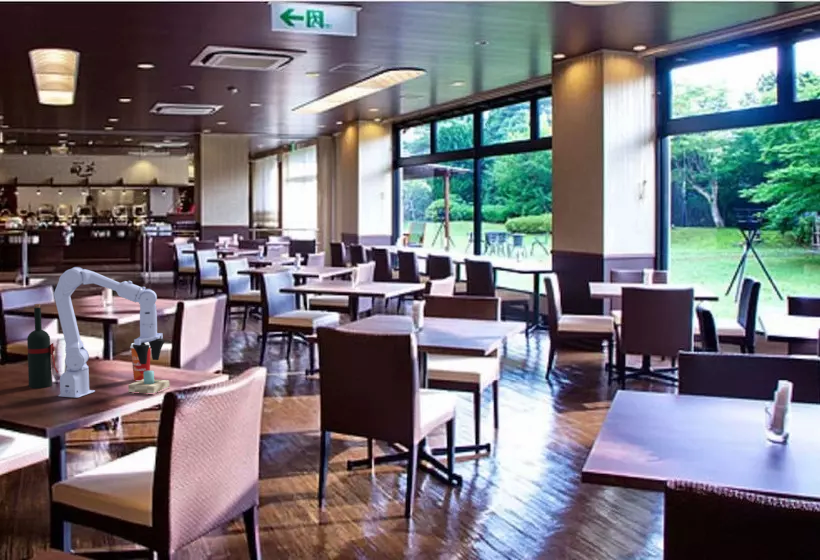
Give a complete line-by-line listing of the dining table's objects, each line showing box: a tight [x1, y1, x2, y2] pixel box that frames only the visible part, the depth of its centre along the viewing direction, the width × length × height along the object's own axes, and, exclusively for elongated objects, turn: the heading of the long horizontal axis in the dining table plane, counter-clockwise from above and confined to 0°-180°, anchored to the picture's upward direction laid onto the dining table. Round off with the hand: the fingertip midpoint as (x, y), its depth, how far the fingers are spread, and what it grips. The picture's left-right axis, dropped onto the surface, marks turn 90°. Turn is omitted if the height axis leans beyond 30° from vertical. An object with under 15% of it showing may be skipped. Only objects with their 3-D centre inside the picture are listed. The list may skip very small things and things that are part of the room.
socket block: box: [127, 378, 171, 393], centre depth 280 cm, size 10×10×3 cm
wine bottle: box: [26, 303, 59, 389], centre depth 286 cm, size 8×10×30 cm
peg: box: [144, 370, 155, 384], centre depth 280 cm, size 4×4×7 cm
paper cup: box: [129, 342, 152, 381], centre depth 297 cm, size 8×8×14 cm
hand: (149, 361), depth 279 cm, fingers open, 7 cm apart
